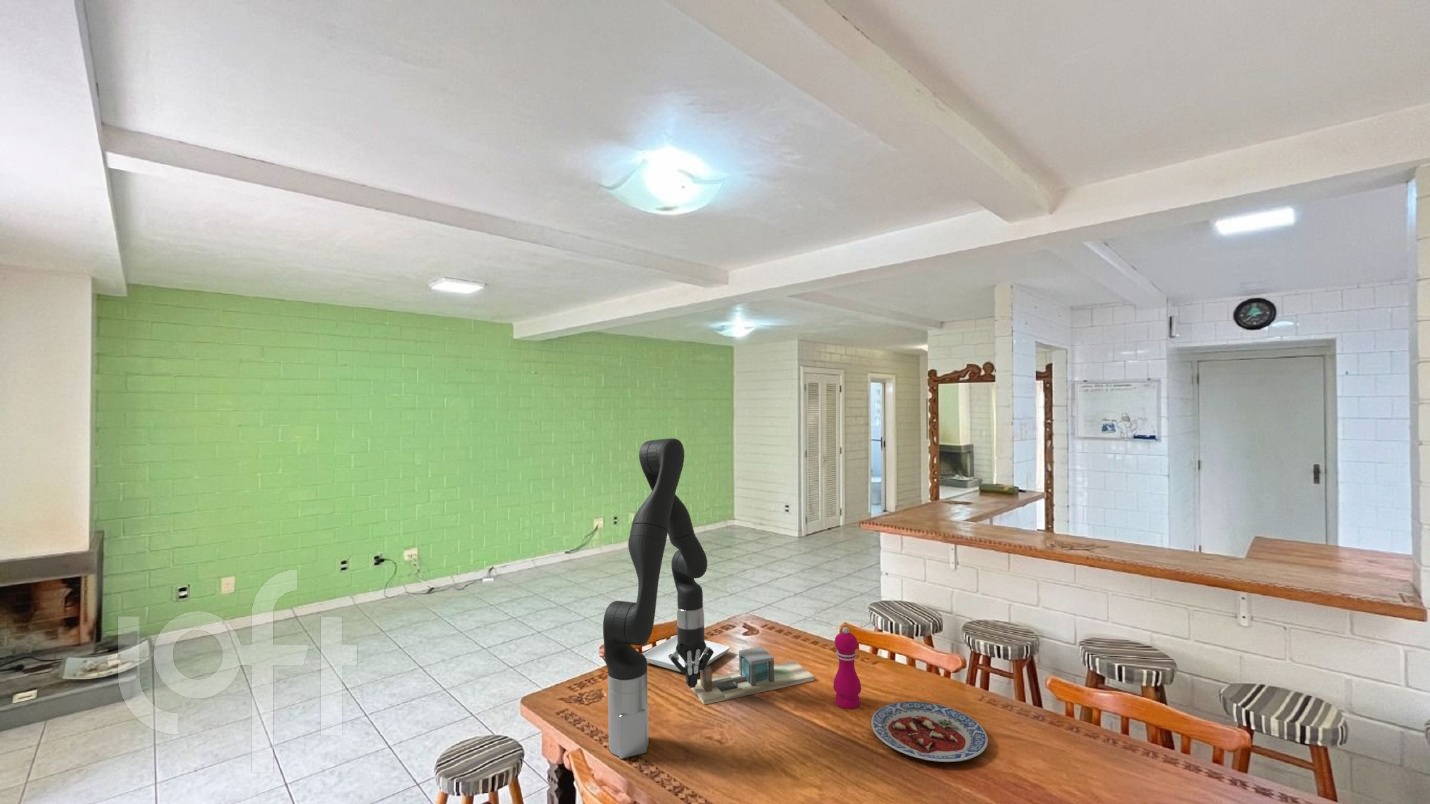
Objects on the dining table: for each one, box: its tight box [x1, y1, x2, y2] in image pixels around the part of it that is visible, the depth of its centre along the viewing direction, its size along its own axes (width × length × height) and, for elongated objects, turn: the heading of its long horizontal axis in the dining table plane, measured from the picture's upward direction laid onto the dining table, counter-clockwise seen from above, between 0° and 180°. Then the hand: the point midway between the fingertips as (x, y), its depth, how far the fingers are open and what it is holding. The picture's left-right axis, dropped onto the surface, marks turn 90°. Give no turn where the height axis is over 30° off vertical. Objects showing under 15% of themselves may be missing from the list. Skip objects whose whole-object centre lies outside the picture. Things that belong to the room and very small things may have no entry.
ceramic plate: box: [871, 701, 989, 763], centre depth 138 cm, size 26×26×3 cm
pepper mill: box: [832, 626, 862, 710], centre depth 155 cm, size 7×7×20 cm
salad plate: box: [642, 635, 731, 673], centre depth 184 cm, size 21×21×3 cm
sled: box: [699, 658, 768, 692], centre depth 165 cm, size 5×19×6 cm, turn 112°
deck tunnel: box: [690, 646, 815, 705], centre depth 167 cm, size 12×34×8 cm, turn 112°
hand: (691, 686), depth 161 cm, fingers closed
